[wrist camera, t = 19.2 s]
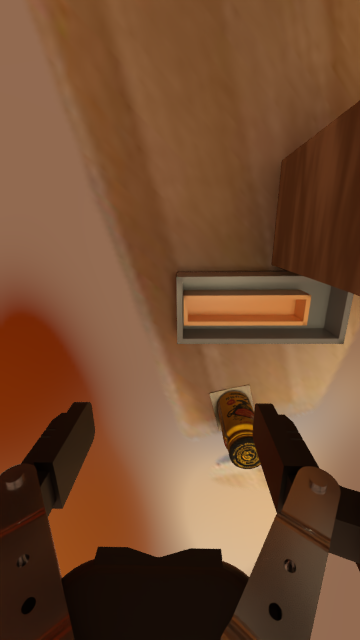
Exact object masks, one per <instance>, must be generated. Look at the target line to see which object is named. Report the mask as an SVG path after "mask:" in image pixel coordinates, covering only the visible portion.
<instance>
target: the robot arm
mask: <svg viewBox="0 0 360 640" xmlns="http://www.w3.org/2000/svg"><path fill="white" fill-rule="evenodd" d="M94 434H95V426H94V419H93V412H92V405H91V403H90V402H74V403H73V404H72V405H71V407H70V408H69V410H68V411H67V413H61V414H60V415H58V416H57V417H56V418H55V419H53V420H52V421H51V423H50V424H49V426H48V427H47V428H46V430H45V431H44V432H43V434H42V435H41V438H39V439H38V441H37V442H36V443H35V445H34V446H33V448H32V449H31V450H30V452H29V453H28V455H27V456H26V457H25V459H24V460H23V461H22V463H21V464H19V465H15V466H13V467H11V468H9V469H7V470H6V471H4V472H3V473H2V474H1V475H0V640H310V636H311V632H312V628H313V623H314V618H315V614H316V609H317V604H318V600H319V595H320V590H321V585H322V581H323V576H324V572H325V567H326V562H327V557H328V553H332V554H335V555H338V556H340V557H343V558H346V559H348V560H351V561H354V562H356V564H357V566H358V569H359V571H360V492H358V491H354V490H351V489H347V488H344V487H342V486H340V485H338V483H337V481H336V480H335V479H334V478H333V477H332V476H331V475H330V474H329V473H327V472H326V471H324V470H322V469H320V468H319V467H318V465H317V463H316V461H315V460H314V458H313V456H312V454H311V453H310V451H309V449H308V447H307V446H306V444H305V442H304V441H303V439H302V437H301V435H300V433H298V430H297V428H296V426H295V425H294V423H293V422H292V421H291V420H290V419H289V418H288V417H286V416H285V415H278V414H277V412H276V410H275V408H274V406H273V404H255V410H254V420H253V441H254V445H255V448H256V451H257V454H258V457H259V460H260V463H261V466H262V469H263V472H264V475H265V478H266V481H267V485H268V488H269V491H270V494H271V497H272V500H273V503H274V506H275V509H276V512H277V515H276V517H275V519H274V522H273V524H272V526H271V529H270V531H269V533H268V535H267V538H266V540H265V542H264V545H263V547H262V549H261V552H260V554H259V557H258V559H257V561H256V563H255V566H254V568H253V570H252V573H251V575H250V577H248V576H247V575H246V574H245V573H244V572H242V571H241V570H239V569H238V568H236V567H235V566H233V565H231V564H229V563H226V562H224V561H222V555H221V549H188V550H184V551H180V552H177V553H174V554H170V555H167V556H163V557H154V556H151V555H149V554H146V553H142V552H140V551H137V550H134V549H131V548H128V547H98V549H97V552H96V556H95V559H93V560H90V561H88V562H85V563H83V564H81V565H80V566H78V567H76V568H74V569H73V570H72V571H70V572H69V573H68V574H66V575H65V576H64V577H63V578H62V577H61V573H60V568H59V564H58V560H57V555H56V551H55V547H54V542H53V538H52V534H51V529H50V525H49V521H48V516H49V514H50V512H51V510H52V508H55V509H62V508H63V506H64V504H65V502H66V500H67V498H68V495H69V493H70V491H71V489H72V486H73V484H74V482H75V480H76V478H77V476H78V473H79V471H80V469H81V467H82V464H83V462H84V460H85V458H86V456H87V453H88V451H89V449H90V447H91V444H92V442H93V439H94Z"/></svg>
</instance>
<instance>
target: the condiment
mask: <svg viewBox="0 0 360 640" xmlns="http://www.w3.org/2000/svg"><path fill="white" fill-rule="evenodd" d="M209 394H210V397H211V401H212V405H213V409H214V413H215V417H216V420H217V424H218V428H219V431H220V430H222V434H223V439H224V443H225V446H226V448H227V449H228V452H229V457H230V459H231V461H232V463H233V464H234V465H235V466H237V467H240V468H243V469H252V468H255V467H258V466H259V465H261V463H260V460H259V457H258V454H257V451H256V448H255V445H254V441H253V420H254V406H253V401H252V396H251V391H250V386H249V385H247V386H241V387H236V388H231V389H227V390H222V391H218V392H214V393H209Z"/></svg>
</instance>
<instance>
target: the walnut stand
mask: <svg viewBox="0 0 360 640" xmlns="http://www.w3.org/2000/svg"><path fill="white" fill-rule="evenodd" d="M272 265H273V266H276V267H279V268H282V269H285V270H288V271H290V272H293V273H296V274H299V275H302V276H305V277H307V278H310V279H313V280H316V281H319V282H322V283H324V284H327V285H330V286H333V287H336V288H339V289H342V290H344V291H347V292H350V293H353V294H356V295H359V296H360V101H359V102H357V103H356V104H355V105H354V106H352V107H351V108H350V109H348V110H347V111H346V112H344V113H343V114H342V115H341V116H339V117H338V118H337V119H335V120H334V121H333V122H332V123H330V124H329V125H328V126H326V127H325V128H324V129H322V130H321V131H320V132H319V133H317V134H316V135H315V136H313V137H312V138H311V139H309V140H308V141H307V142H306V143H304V144H303V145H302V146H300V147H299V148H298V149H297V150H295V151H294V152H293V153H291V154H290V155H289V156H287V157H286V158H285V159H284V160H282V166H281V176H280V187H279V197H278V207H277V217H276V227H275V237H274V247H273V257H272Z"/></svg>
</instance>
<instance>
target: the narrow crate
mask: <svg viewBox="0 0 360 640" xmlns="http://www.w3.org/2000/svg"><path fill="white" fill-rule="evenodd" d="M310 302H311V295H310V294H308V293H306V292H304V291H302V290H184V326H252V325H307V321H308V315H309V308H310Z"/></svg>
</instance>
